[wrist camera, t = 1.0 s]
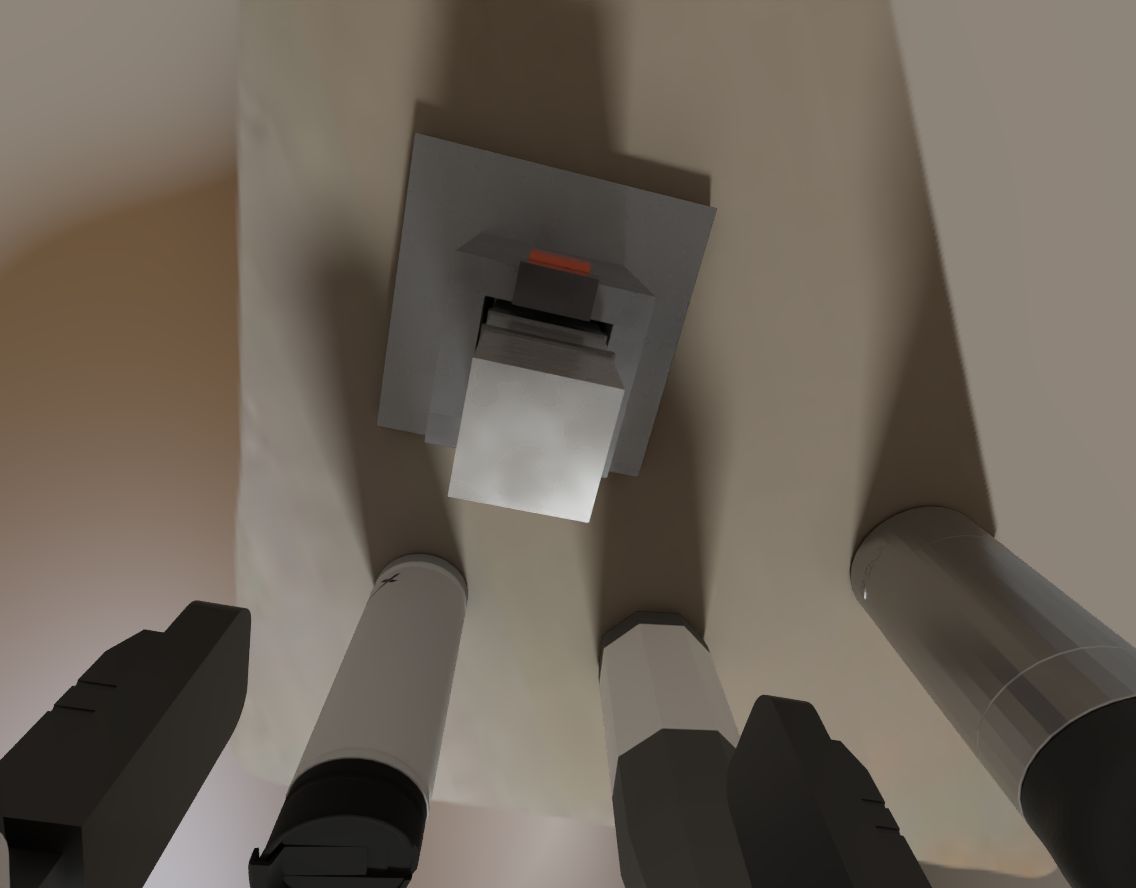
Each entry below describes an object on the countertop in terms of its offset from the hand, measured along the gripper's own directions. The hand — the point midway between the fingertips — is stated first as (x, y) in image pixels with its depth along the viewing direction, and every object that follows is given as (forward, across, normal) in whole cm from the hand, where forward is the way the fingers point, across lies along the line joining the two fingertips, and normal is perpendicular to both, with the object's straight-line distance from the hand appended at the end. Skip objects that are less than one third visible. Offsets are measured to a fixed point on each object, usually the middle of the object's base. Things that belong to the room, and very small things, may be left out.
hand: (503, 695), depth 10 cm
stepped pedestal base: (+30, 0, -1) cm, 30 cm away
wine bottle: (+30, -13, +22) cm, 39 cm away
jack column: (+28, 0, -1) cm, 28 cm away
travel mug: (+30, +4, +19) cm, 36 cm away
